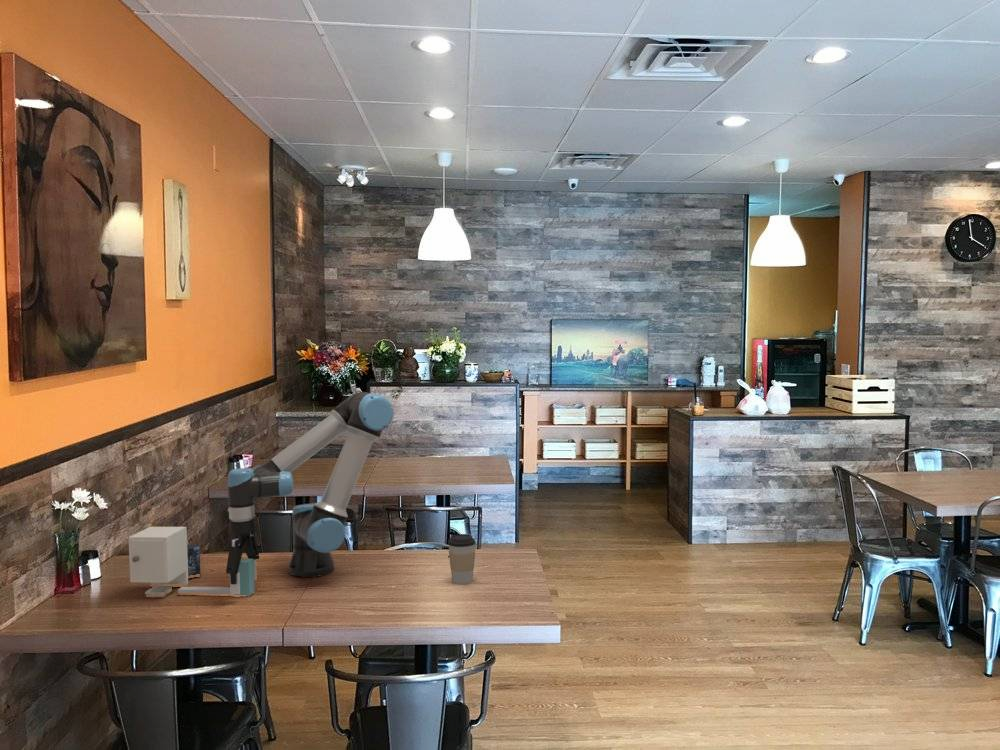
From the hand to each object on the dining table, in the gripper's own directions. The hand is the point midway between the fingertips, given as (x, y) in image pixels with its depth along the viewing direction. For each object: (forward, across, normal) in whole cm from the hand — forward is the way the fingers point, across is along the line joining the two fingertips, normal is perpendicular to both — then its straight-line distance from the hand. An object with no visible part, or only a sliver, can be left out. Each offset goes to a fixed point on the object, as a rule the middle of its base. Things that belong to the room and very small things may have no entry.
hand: (243, 586), depth 243 cm
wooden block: (+3, 0, -28) cm, 28 cm away
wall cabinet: (+3, -1, -28) cm, 28 cm away
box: (+3, -16, -26) cm, 31 cm away
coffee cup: (+3, -16, +66) cm, 68 cm away
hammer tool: (+3, 0, -9) cm, 9 cm away
